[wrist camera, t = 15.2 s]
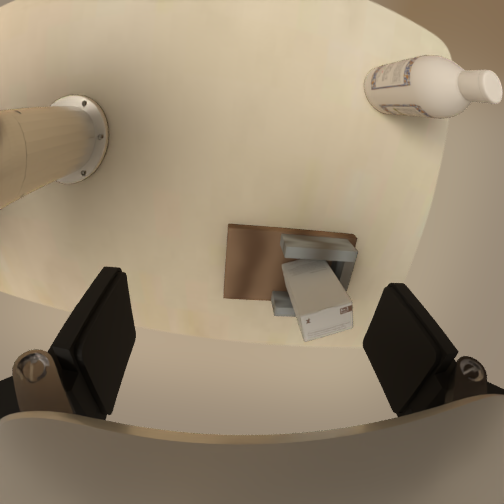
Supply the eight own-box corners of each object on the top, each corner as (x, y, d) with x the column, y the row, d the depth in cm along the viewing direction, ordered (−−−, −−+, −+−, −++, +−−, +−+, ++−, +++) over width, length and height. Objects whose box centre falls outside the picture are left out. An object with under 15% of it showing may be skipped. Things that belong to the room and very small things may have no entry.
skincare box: (286, 287, 41) (302, 346, 31) (280, 261, 39) (296, 317, 29) (326, 277, 41) (354, 331, 30) (323, 250, 39) (353, 301, 28)
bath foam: (412, 105, 31) (521, 117, 14) (375, 121, 33) (483, 138, 15) (392, 61, 29) (498, 43, 11) (354, 75, 30) (455, 52, 12)
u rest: (223, 292, 43) (222, 315, 38) (228, 223, 38) (227, 240, 33) (336, 296, 45) (347, 317, 40) (353, 234, 40) (368, 250, 35)
